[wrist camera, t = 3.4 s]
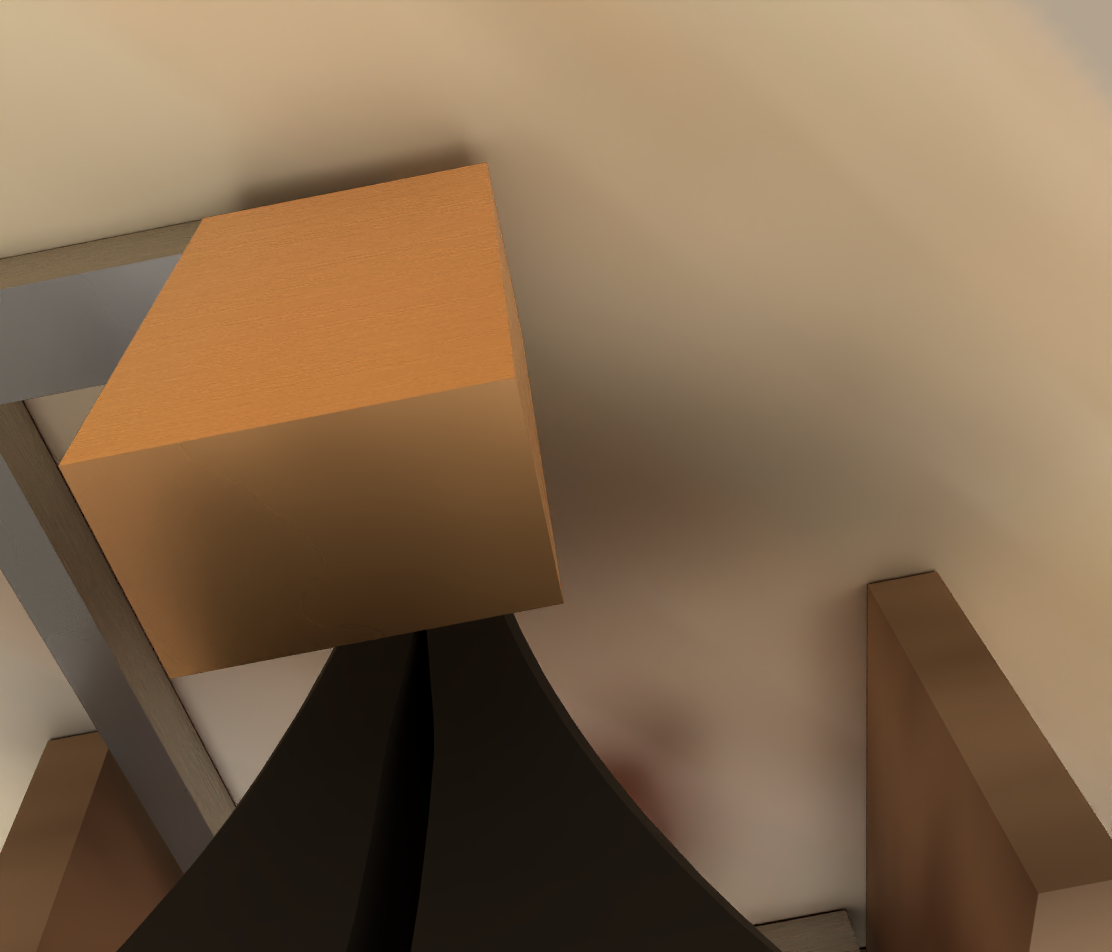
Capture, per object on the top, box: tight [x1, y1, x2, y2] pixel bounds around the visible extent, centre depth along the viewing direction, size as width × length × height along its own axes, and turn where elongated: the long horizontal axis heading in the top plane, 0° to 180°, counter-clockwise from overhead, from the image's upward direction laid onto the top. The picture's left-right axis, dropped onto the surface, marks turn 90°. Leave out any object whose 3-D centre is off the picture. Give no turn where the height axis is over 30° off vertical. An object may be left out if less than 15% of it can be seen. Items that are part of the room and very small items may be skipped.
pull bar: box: [0, 162, 861, 952], centre depth 13 cm, size 16×10×6 cm, turn 9°
